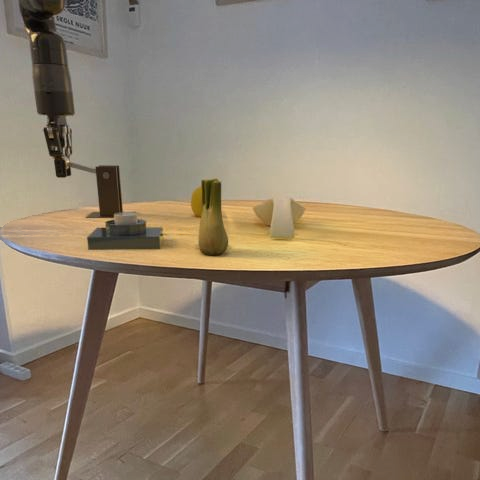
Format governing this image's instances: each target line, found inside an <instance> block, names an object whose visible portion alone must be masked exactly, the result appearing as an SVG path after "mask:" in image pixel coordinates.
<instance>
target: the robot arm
mask: <svg viewBox="0 0 480 480" xmlns="http://www.w3.org/2000/svg"><path fill="white" fill-rule="evenodd" d="M17 5H18V10H19V14H20V17H21V21H22V24H23V28H24V31H25V33H26V36H27V39H28V43H29V52H30V60H31V69H32V70H31V71H32V72H31V77H32V78H31V79H32V85H33V93H34V98H35V100H34V101H35V107H36V112H37V114H38V115H39V116H46V120H47V121H46V125H45V127H43V129H42V131H43V133H44V135H43V136H44V138H45V142H46V143H45V144H46V147H47V150H48V155H49V157H51V158H52V160H53V164H54V171H55V176H56V178H58V179H59V178H60V179H61V178H62V179H63V178H65V179H66V178H67V177H71V176H72V168H71V167H69V168H68V169H66V161H65V160H63V159H65V156H66V157H68V159H69V160H70V161H71V157H72V155H73V133H72V132H73V130H72V128H70V125H68V122H67V117H71V116H72V117H73V116H74V115H75V114H76V110H75V103H74V101H75V100H74V93H73V84H72V76H71V73H70V68H69V59H68V50H67V44H66V41H65V38H64V36H63V35H61V34H60V33H59V32H58V29H57V24H56V20H55V17H56V16H59V15H60V14H62V13H63V12H64V11H65V9H66V6H67V0H17Z"/></svg>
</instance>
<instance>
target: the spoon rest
mask: <svg viewBox="0 0 480 480" xmlns="http://www.w3.org/2000/svg"><path fill="white" fill-rule="evenodd" d="M252 210H253V213H254V214H255V216H256V217H257V218H258V219H259V220H260V221H261V222H263V223H264V225H266V226H269V238H270V239H294V238H295V225H294V224H295V223H296V222H297V221H299V220H300V219H301V218H302V217H303V216H304V214H305V212H306V210H307V207H306V206H304V205H302V204H300V203H298V202H297V201H296V200H295V199H293V198H292V197H289V196H288V197H285V198H278V197H269V198H267V199H266V200H264V201H262V202H260V203H258V204H256V205H253V206H252Z"/></svg>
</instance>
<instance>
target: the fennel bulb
mask: <svg viewBox="0 0 480 480" xmlns="http://www.w3.org/2000/svg"><path fill="white" fill-rule="evenodd" d="M201 185H202V213H201V217H200V221H199V228H198V229H199V230H198V238H197V239H198V240H197V241H198V247H199V248H198V249H199V251H200V253H201V254H203V255H206V256H218V255H219V256H220V255H221V254H223V253H224V252H226V250H227V249H228V247H229V237H228V233H227V231H226V228H225V225H224V220H223V214H222V213H223V212H222V181H221V180H219V179H218V178H207V179H205V178H204V179H201V183H200V186H201Z"/></svg>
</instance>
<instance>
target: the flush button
mask: <svg viewBox="0 0 480 480" xmlns="http://www.w3.org/2000/svg"><path fill="white" fill-rule="evenodd" d="M133 212H134V211H123V212H121V213H115V214H114V218H113V220H114V222H115V223H116V224H133V223H138V219H139V217H138V213H137V212H136V213H133Z"/></svg>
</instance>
